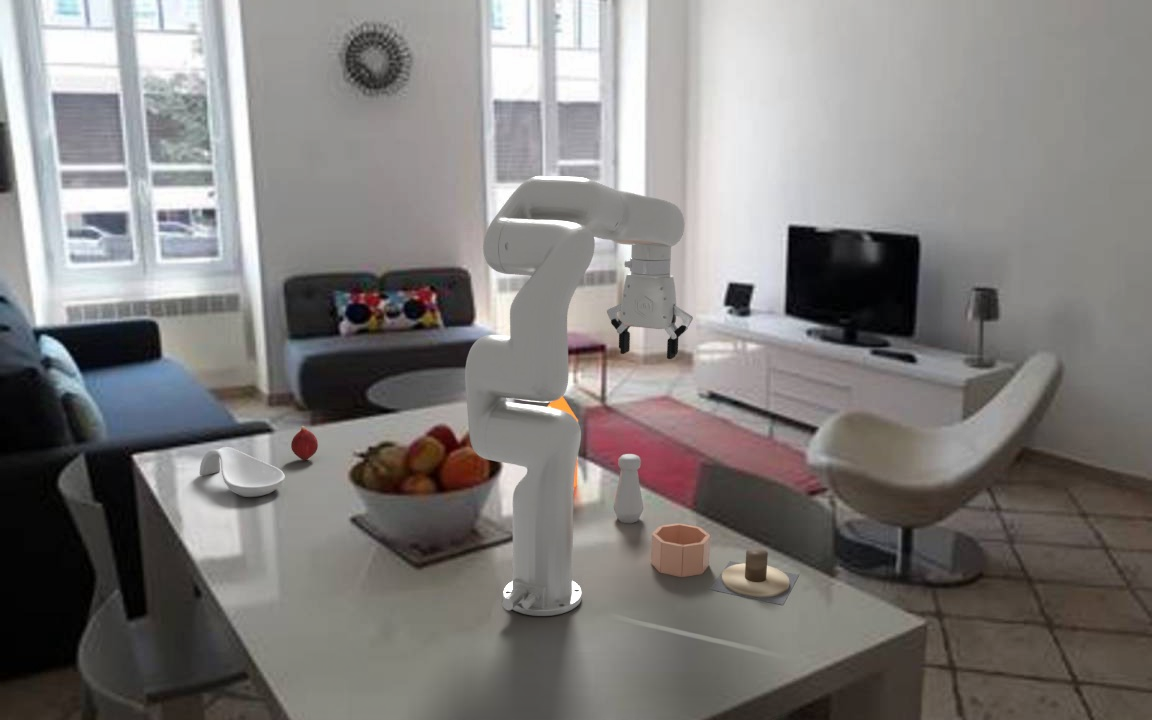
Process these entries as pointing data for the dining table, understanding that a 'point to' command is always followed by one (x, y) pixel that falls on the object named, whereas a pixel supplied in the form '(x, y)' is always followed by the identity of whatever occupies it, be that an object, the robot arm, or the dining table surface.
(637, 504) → the salt shaker
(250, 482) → the spoon rest
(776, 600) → the mat
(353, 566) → the dining table surface
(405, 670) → the dining table surface
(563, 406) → the orange juice
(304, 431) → the onion
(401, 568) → the dining table surface
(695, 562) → the bowl
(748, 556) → the lid
